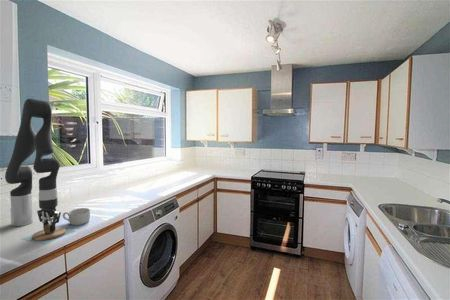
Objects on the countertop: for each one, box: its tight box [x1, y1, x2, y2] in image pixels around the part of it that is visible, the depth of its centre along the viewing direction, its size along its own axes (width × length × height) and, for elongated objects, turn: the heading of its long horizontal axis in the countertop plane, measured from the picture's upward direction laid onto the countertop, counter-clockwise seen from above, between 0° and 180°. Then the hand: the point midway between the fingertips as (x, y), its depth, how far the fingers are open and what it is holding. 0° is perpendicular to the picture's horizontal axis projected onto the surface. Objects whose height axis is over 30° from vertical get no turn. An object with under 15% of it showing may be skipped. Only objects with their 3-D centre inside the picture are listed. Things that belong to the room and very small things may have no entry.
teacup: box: [62, 207, 91, 226], centre depth 137 cm, size 14×11×8 cm
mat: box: [22, 226, 76, 245], centre depth 120 cm, size 16×16×1 cm
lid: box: [31, 223, 66, 241], centre depth 120 cm, size 14×14×5 cm
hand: (49, 230), depth 120 cm, fingers closed on lid, 4 cm apart
